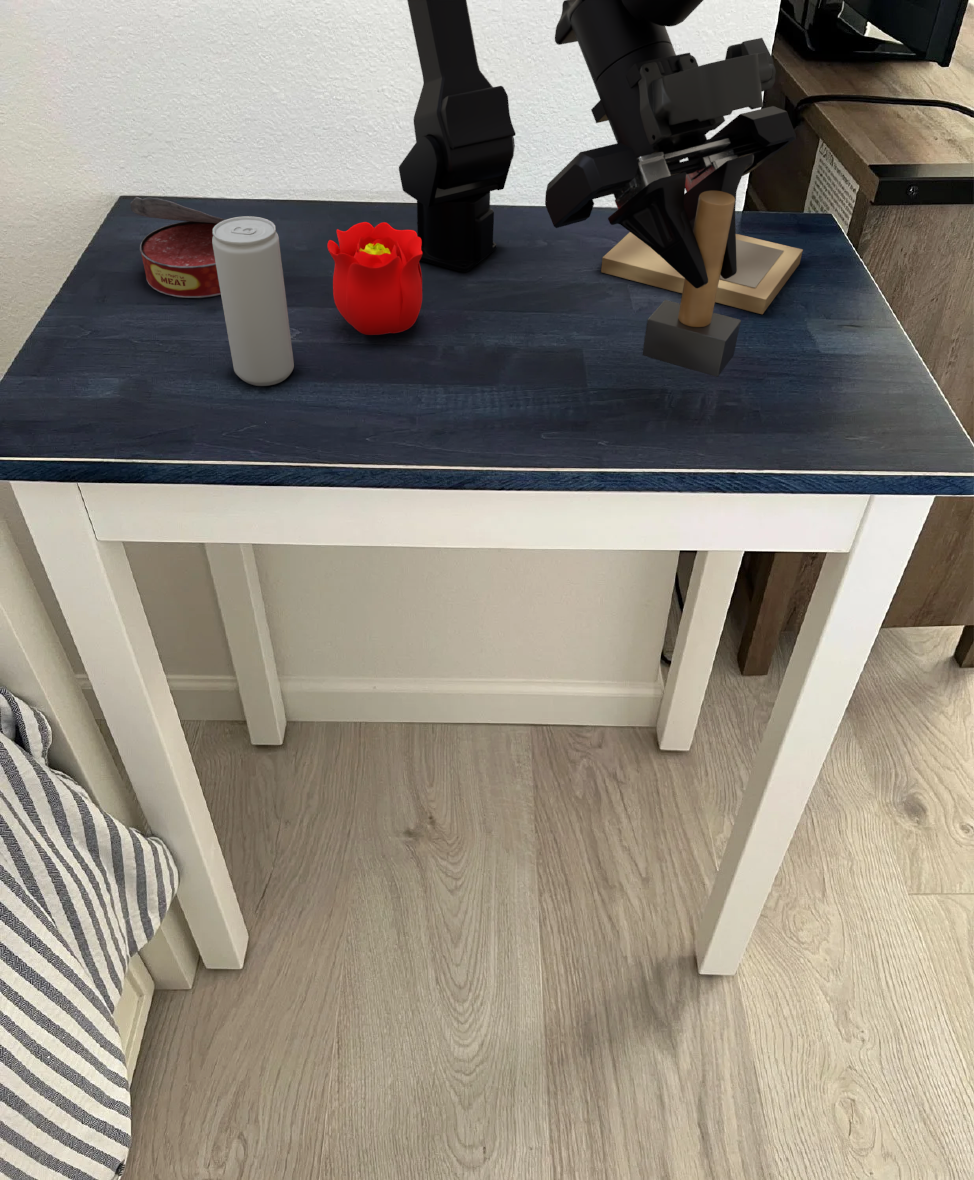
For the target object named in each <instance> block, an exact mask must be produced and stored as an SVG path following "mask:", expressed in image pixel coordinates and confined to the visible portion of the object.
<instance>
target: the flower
mask: <svg viewBox="0 0 974 1180" xmlns="http://www.w3.org/2000/svg"><path fill="white" fill-rule="evenodd" d="M336 236H337V240H338V243H336V242H335V241H334V240H332V239H329V240H328V242H327V250H328V252H329V254H330V256H331V258H332V259H333V261H334V269H333V277H332V293H333V301H334V304H335V307H336V310H338V312H339V313H340V315H341V316H342V317H343V319H344V320H345V321H346V322H347V323H348V324H349V325H351V326H352V327H353V328H354V330H356V331H357V332H359V333H360V334H362V335H365V336H379V335H380V336H381V335H386V334H399V333H403V332H405V331H407V330H409V329H411V328H412V327H413V326H414V325H415V323H416V321H417V320H418V317H419V314H420V311H421V308H422V304H423V274H422V268H421V264H420V261H421V260H420V259H421V257H422V254H423V252H422V250H421V245H422V240H421V238H420V237H418V232H416V231H415V230H414V229H395V228H393V227H392V226H391V225H390V224H389V223H388V222H385V221H383V222H380V223H378V224H376V225H375V226H374V225H372V224H371V223H370V222H367V221H363V222H359V223H358V222H357V223H356V224H353V225H352V226H351V227H349V228H348V229H347V230H345V231H343V230H340V229H339V228H337V229H336Z"/></svg>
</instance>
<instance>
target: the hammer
mask: <svg viewBox="0 0 974 1180" xmlns="http://www.w3.org/2000/svg"><path fill="white" fill-rule="evenodd" d="M734 204H735V198H734V196H732V195H731V194H729V193H726V192H722V191H705V192H702V193H701V194H700V195H699V200H698V206H697V212H696V217H695V223H694V229H693V232H694V235H695V238H696V241H697V244H698V246H699V249H700V252H701V255H702V258H703V261H704V264H705V269H706V273H707V277H708V283H707V284H706V285H704V286H702V287H701V288H695V287H694V286H692V285H691V284H690V283H689V282H688V281H687V280H686V279H685V281H684V286H683V292H682V293H681V297H680V303H679V302H675V301H671V300H668V299H664V301H662V303H661V304H660V305H659V306H658V307H657V308H656V310H654V311H653V312H652V314H650V316H649V317H648V318H647V320H646V326H645V333H644V340H643V346H642V353H641V355H642V356H643V357H647V358H650V359H653V360H656V361H660V362H664V363H667V364H669V365H670V364H671V365H674V366H677V367H680V368H685V369H687V370H690V371H695V372H698V373H702V374H705V375H709V376H712V377H716V378H718V377H719V376H720V375H721V374H722V372H724V369H725V368H726V367H727V365H728V364H729V363H730V361H731V360H732V358H733V357H734V355H735V350H736V346H737V342H738V336H739V332H740V328H741V323H742V319H739V318H735V317H733V316H732V317H731V316H728V315H724V314H720V313H716V312H714V309H715V304H716V302H715V299H716V294H717V289H718V284H719V279H720V274H721V269H722V264H723V259H724V254H725V249H726V244H727V239H728V234H729V229H730V224H731V219H732V214H733V209H734Z"/></svg>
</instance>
